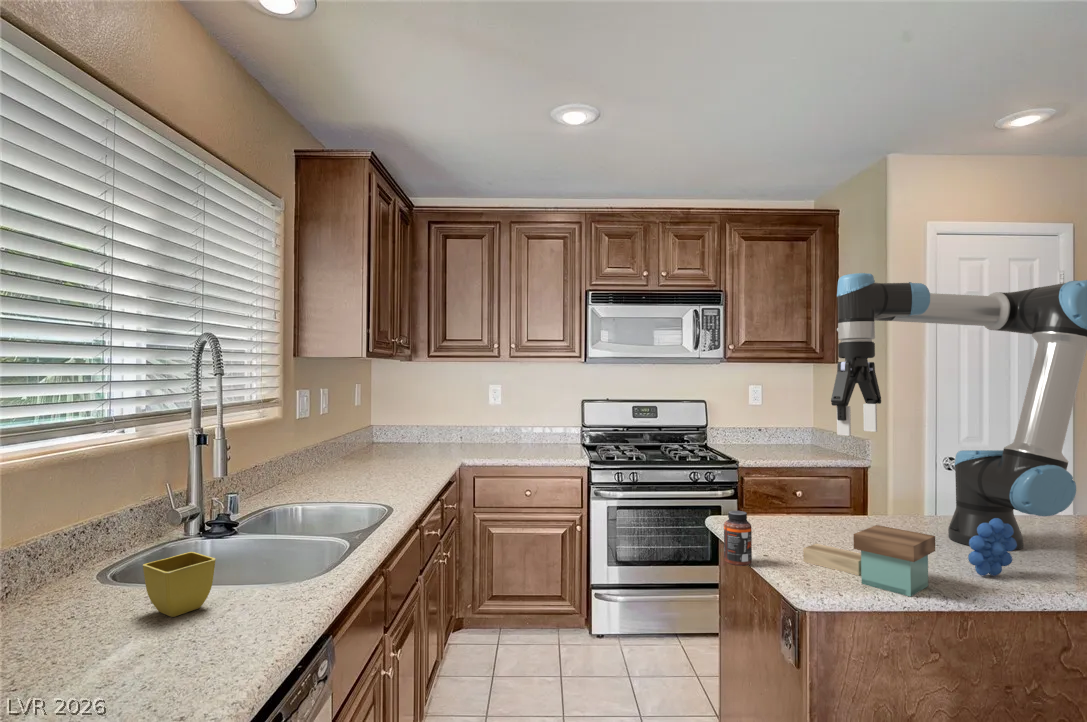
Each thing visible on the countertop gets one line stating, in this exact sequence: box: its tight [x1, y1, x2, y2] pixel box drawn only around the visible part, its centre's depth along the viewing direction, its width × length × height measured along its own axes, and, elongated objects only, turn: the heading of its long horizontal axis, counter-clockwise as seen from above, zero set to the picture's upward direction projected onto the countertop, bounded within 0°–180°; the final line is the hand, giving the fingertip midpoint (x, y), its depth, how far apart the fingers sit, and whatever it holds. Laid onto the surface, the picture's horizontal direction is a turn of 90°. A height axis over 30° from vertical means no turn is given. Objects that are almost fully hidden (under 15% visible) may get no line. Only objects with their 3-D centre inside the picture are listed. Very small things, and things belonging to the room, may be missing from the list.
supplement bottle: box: [723, 510, 753, 567], centre depth 134 cm, size 6×6×11 cm
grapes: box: [967, 518, 1017, 577], centre depth 126 cm, size 12×7×12 cm, turn 103°
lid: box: [853, 524, 936, 562], centre depth 120 cm, size 11×11×3 cm
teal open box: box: [860, 550, 929, 598], centre depth 120 cm, size 9×9×7 cm
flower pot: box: [142, 551, 216, 618], centre depth 108 cm, size 9×9×9 cm
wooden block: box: [802, 543, 861, 576], centre depth 132 cm, size 6×12×3 cm, turn 39°
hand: (857, 433), depth 137 cm, fingers open, 13 cm apart
